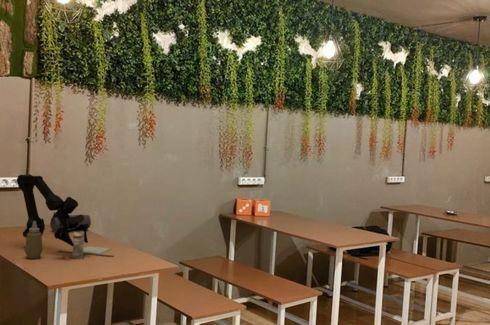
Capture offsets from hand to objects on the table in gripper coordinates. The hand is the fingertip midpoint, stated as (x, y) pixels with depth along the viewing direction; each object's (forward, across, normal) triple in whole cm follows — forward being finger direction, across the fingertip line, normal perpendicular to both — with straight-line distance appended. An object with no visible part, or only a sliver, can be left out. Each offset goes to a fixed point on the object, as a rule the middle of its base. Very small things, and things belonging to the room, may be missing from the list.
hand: (80, 244), depth 259 cm
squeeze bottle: (-7, -14, +17) cm, 23 cm away
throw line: (+2, +8, +8) cm, 11 cm away
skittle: (+4, 0, +6) cm, 7 cm away
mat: (0, +16, +9) cm, 19 cm away
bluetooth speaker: (-34, +45, +44) cm, 71 cm away
